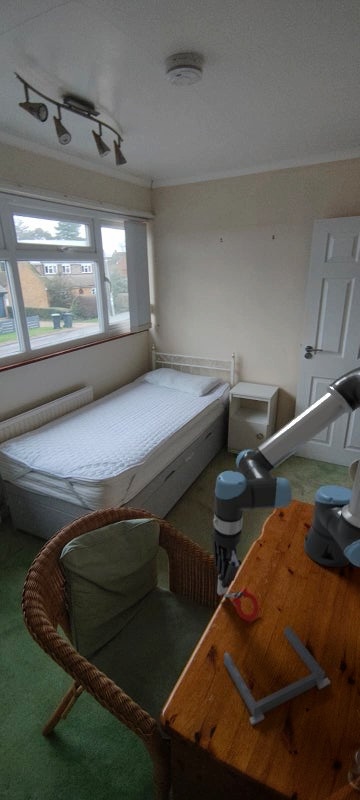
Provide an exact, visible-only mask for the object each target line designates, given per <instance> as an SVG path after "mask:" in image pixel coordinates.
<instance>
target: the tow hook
mask: <svg viewBox="0 0 360 800" xmlns="http://www.w3.org/2000/svg"><path fill="white" fill-rule="evenodd" d="M223 597H224V598H232V601H231V602H232V603H233V604H234V605H235V606H236V611H237V614H238V616H239V617H240V618H241V619H243V620H244V621H253V619H255V618H256V617H257V615H258V612H259V603H258V600H257V598H256V597H255V596H254V595H253V594H252V593H250V592H248V589H247V588H246V587H245V586H243V588H242V589H241V590H240V591H237V592H232V593H224V594H223ZM242 598H245V599H246V598H248V599H250V600H251V602H252V605H253V610H252V612H251V613H250V614H245V613H244V611H243V609H242V601H241V599H242Z"/></svg>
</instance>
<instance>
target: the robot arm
mask: <svg viewBox="0 0 360 800" xmlns="http://www.w3.org/2000/svg"><path fill="white" fill-rule="evenodd" d="M358 408H359V409H360V366H359V367H356V368H354V369H352V370H349V371H348V372H346V373H345V374H343V375H341V376H339V377H338V378H337V379H335V380H334V381H333V382H332V383H331V384H329V385H328V386H327V387H326V392H325V393H324V394H322V395H321V396H320V397H319V398H318V399H316V400H315V401H313V402H312V403H311V404H310V405H309V406H308V407H306V408H305V409H304V410H303V411H301V412H300V413H299V414H297V415H296V416H295V417H294V418H292V419H291V420H290V421H289V422H287V424H285V425H284V426H282V427H281V428H280V429H279V430H278V431H276V432H275V433H274V434H273V435H271V436H270V437H269V438H268V439H266V440H265V441H264V442H262V444H260V445H259V446H258V447H257V448H255V449H245V450H242V451H241V452H240V453H238V455H237V456H236V459H235V463H236V464H235V465H236V467H237V470H238V471H233V470H227V471H223V472H221V473H220V474H218V475H217V477H216V482H215V489H214V509H213V513H214V514H213V519H212V522H213V526H212V534H211V541H212V550H213V551H212V552H213V564H214V566H213V567H214V568H217V569H216V571H217V588H216V589H217V590H216V592H217V594H218V596H222V595H224V594H228V590H229V589H228V588H229V583H231V582H233V581H235V578H236V576H237V572H238V570H239V567H240V566H242V561H241V560H240V559H238V558H237V556H236V555H237V553H238V552H237V547H238V545H239V543H240V542H241V538H242V528H243V519H244V511H250V510H259V509H260V510H262V509H264V510H266V509H277V508H284V507H285V508H286V507H288V506H290V505H291V501H292V496H293V494H292V487H291V483H290V482H289V480H288V479H286V478H284V477H278V476H277V477H274V475H273V474H272V472H271V471H273V470H274V469H275V468H277V467H278V466H279V465H280V464H282V463H283V462H284V461H285V460H286V459H288V458H290V456H292V455H293V454H294V453H296V452H297V451H298V450H300V449H301V448H302V447H303V446H305V445H306V444H307V443H309V442H310V441H311V440H312V439H314V438H315V437H316V436H317V435H319V434H320V433H321V432H323V431H324V430H325V429H327V428H328V427H329V426H330V425H331V424H333V423H334V422H335V421H337V420H338V419H340V417H342V416H343V415H345V414H346V413H348V414H352V413H353V412H355V410H357V409H358ZM352 486H353V487H352V489H349V488H348V487H345V486H340V485H335V484H334V485H333V484H331V485H324V486H322V487H319V488H318V489H317V491H316V494H315V496H314V507H313V512H312V513H313V516H312V522H311V526H310V528H309V530H308V532H307V533H306V535H305V537H304V541H303V549H304V552H305V553H306V555H307V556H308V557H309V558H310V559H312V561H314V562H316V563H317V564H320V565H323V566H325V567H329V568H342V567H346V566H347V565H349V564H350V563H351V564H352V565H354V566H356V567H359V568H360V458H359V460H358V464H357V467H356V472H355V477H354V482H353V485H352Z"/></svg>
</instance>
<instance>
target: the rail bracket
mask: <svg viewBox="0 0 360 800" xmlns="http://www.w3.org/2000/svg"><path fill="white" fill-rule="evenodd" d="M284 628H285V629H284V637H285V638H286V639H287V641H288V643H290V645H291V646H292V647H293V649H294V651H295V652H296V653H297V654H298V656H299V657H300V659H301V660H302V661H303V663H304V664H305V665H306V667H307V668H308V670H309V671H310V672H311V674H308V675H307V676H305V677H302V678H301V679H299V680H297V681H295V682H293V683H290V684H289V685H287V686H285V687H283V688H281V689H278V690H277V691H275V692H273V693H270V695H267V696H265V697H263V698H262V699H259V700H257V701H256V700H255V698H254V696H253V695H252V693H251V691H250V689H249V688H248V686H247V684H246V683H245V681H244V679H243V677H242V675H241V674H240V672H239V670H238V667H236V664H235V662H234V661H233V659H232V657H231V655H230V653H229V652H228V651H227V652H225V653H224V654H223V663H224V666H225V668H226V669H227V672H228V673H229V675H230V677H231V679H232V681H233V684H235V686H236V689H237V691H238V692H239V694H240V696H241V697H242V699H243V701H244V704H245V705H246V707H247V709H248V711H249V713H250V714H251V717H249V719H248V720H249V722H250V724H251V726H254V725H256V724H258V723H259V722H262V721H264V720H265V715H264V714H265V713H267V712H268V711H271V710H272V709H274V708H277V707H278V706H280V705H281V704H284V703H285V702H288V701H289V700H291V699H294V698H295V697H297V696H299V695H301V694H302V693H304V692H307V691H309V690H310V689H312V688H314V687H315V686H317V688H318V690H321V689H324V688H325V687H328V686H329V685H330V684H331V680H329V678H328V677H326V678H325V674H326V673H325V671H324V670H323V668H322V667H321V665H320V664H319V663H318V662H317V661H316V659H315V658H314V657H313V655H312V654H311V653H310V652H309V650H308V649H307V647H306V646H305V645H304V644H303V642H302V641H301V640H300V639H299V637H298V636H297V635H296V633H295V631H294V630H292V628H291V627H290V626H289V625H286V626H285V627H284Z"/></svg>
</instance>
